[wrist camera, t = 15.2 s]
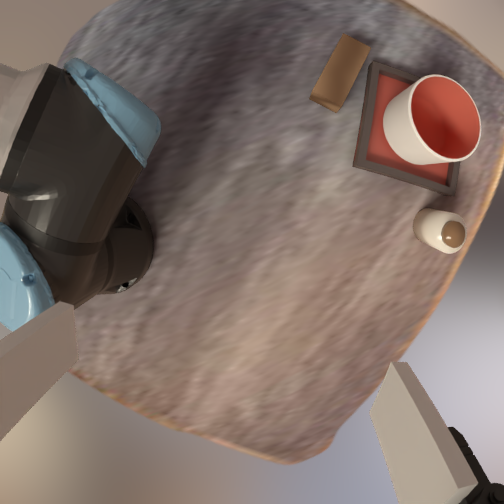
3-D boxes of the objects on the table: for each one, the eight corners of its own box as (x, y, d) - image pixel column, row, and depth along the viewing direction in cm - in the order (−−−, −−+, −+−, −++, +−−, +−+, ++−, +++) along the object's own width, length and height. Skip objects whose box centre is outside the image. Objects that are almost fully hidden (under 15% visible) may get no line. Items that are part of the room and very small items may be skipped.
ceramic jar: (409, 238, 40) (434, 250, 32) (417, 204, 39) (444, 209, 31) (437, 246, 40) (464, 259, 32) (445, 213, 39) (474, 219, 31)
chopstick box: (309, 99, 38) (312, 91, 34) (338, 45, 35) (343, 33, 31) (335, 113, 38) (341, 106, 34) (363, 58, 35) (371, 47, 31)
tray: (352, 166, 39) (356, 165, 36) (368, 66, 35) (373, 60, 33) (446, 195, 38) (454, 196, 36) (458, 101, 35) (466, 98, 32)
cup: (403, 81, 35) (433, 57, 25) (453, 129, 35) (492, 119, 25) (366, 131, 37) (391, 115, 27) (420, 180, 37) (457, 180, 28)
